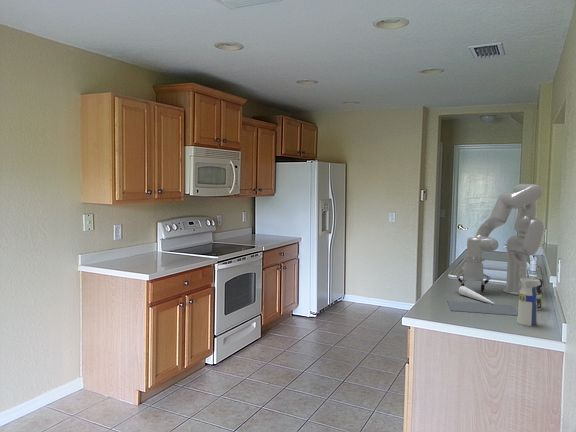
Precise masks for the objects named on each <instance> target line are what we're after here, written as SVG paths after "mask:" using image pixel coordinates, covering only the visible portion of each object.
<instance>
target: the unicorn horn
mask: <svg viewBox="0 0 576 432" xmlns="http://www.w3.org/2000/svg"><path fill="white" fill-rule="evenodd" d="M458 293H459V295H460V296H461V295H462V296H463V297H464V296H465V297H468V298H470V299H474V300H478V301H480V302H482V303H487V304H496V303H495V302H493V301H492V300H491V299H488V298H487V297H485V296H483V295H481V294H480V293H478V292H476V291H474V290H472V289H470V288H468V287H467V286H465V285H464V286H461V285H460V286H459V288H458Z"/></svg>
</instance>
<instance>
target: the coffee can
mask: <svg viewBox="0 0 576 432" xmlns="http://www.w3.org/2000/svg"><path fill="white" fill-rule="evenodd" d="M521 278H532V277H529V276H528V277H527V276H526V277H521ZM534 278H535V279H538V280H539V281H540V283H541V285H539V286H537V287H536V292H537V293H538V294H537V295H536V302H537V311H541V310H542V304H543V302H542V301H543V298H542V297H543V285H544V284H543V282H544V280H543V279H541V278H537V277H534ZM519 282H520V278H519ZM520 290H521V282H520V285H519V295H520ZM519 295H518V296H519ZM517 300H518V302H517V303H518V305H519V300H520V299H519V298H518V299H517ZM518 305H517V306H518Z"/></svg>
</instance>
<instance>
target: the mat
mask: <svg viewBox="0 0 576 432" xmlns="http://www.w3.org/2000/svg"><path fill="white" fill-rule="evenodd" d="M447 303H448V306H449V309H450V311H451V312H460V313H461V312H462V313H474V314H488V315H500V316H501V315H502V316H515V317H518V310H516V308H514V307H513V305H511V304H500V303H499V304H497V303H495V304H491V303H487V302H470V301H457V300H456V301H455V300H454V301H453V300H447Z"/></svg>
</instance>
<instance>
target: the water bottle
mask: <svg viewBox="0 0 576 432" xmlns="http://www.w3.org/2000/svg"><path fill="white" fill-rule="evenodd" d="M518 269H519V272H520V273H521V271H522V269H521V266H520V268H518ZM519 272H518V273H519ZM535 278H536V277H531V278H520V282H521V290H520V295H518V299H520V300H519V305H517V312H518V316H516V317H517V319H516V322H517V324H519V325H522V326H528V327H530V326H531V327H535V326H537V325H538V321H537V320H538V310H537V302H536V295H537V294H538V293H537V292H536V287H537V286H539V285H541V283H540V281H539V280H538V279H539V278H538V279H535ZM520 282H519V285H520Z"/></svg>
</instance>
